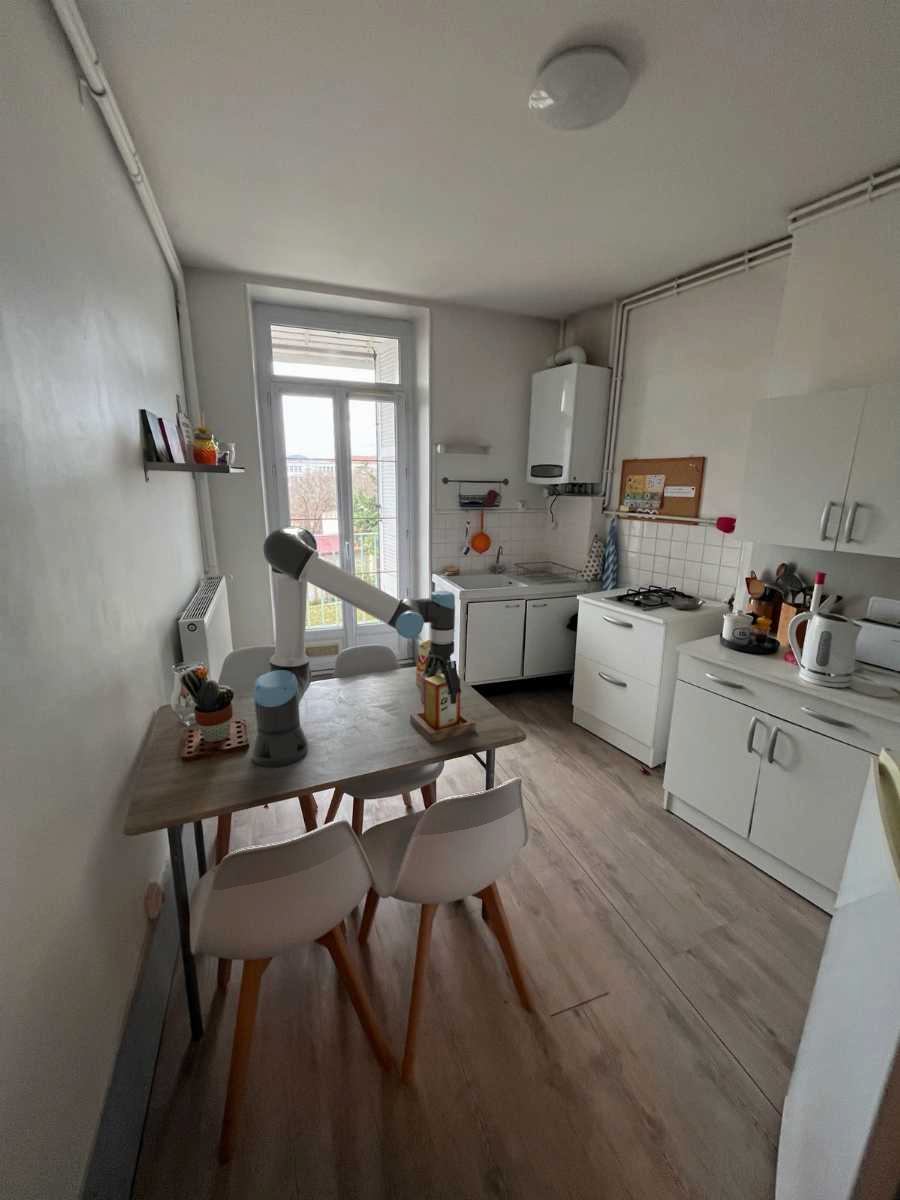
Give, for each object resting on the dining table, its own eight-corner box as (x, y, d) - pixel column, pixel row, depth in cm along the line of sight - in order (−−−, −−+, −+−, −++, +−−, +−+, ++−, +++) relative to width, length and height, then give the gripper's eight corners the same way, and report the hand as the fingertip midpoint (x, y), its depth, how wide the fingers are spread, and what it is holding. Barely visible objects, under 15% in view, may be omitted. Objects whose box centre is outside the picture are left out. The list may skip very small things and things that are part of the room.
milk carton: (431, 679, 197) (431, 631, 193) (445, 685, 190) (446, 637, 186) (413, 684, 192) (412, 636, 187) (427, 691, 185) (427, 641, 180)
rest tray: (430, 742, 147) (430, 733, 146) (410, 722, 160) (410, 714, 159) (475, 730, 155) (475, 722, 154) (452, 712, 167) (452, 704, 167)
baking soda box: (436, 732, 152) (436, 684, 148) (424, 724, 157) (424, 677, 153) (459, 723, 157) (460, 677, 154) (447, 716, 162) (447, 671, 159)
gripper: (473, 650, 142) (471, 717, 147) (434, 629, 163) (434, 688, 168) (451, 654, 138) (450, 722, 143) (414, 632, 160) (414, 692, 164)
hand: (441, 704), depth 155 cm, fingers open, 13 cm apart
